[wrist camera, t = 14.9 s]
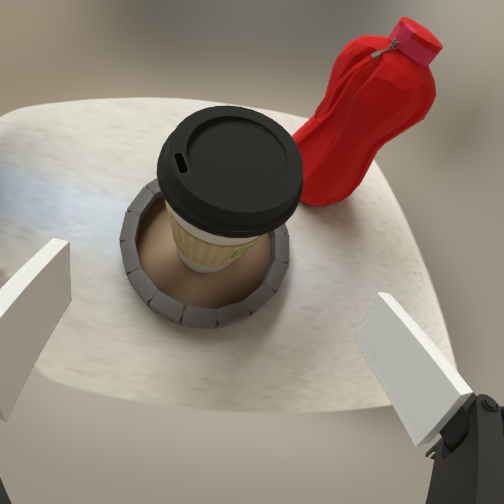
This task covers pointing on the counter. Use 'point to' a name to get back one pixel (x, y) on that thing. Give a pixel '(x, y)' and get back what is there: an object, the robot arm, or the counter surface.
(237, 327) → the counter surface
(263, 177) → the coffee cup
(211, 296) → the round tray
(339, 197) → the red curved bottle
